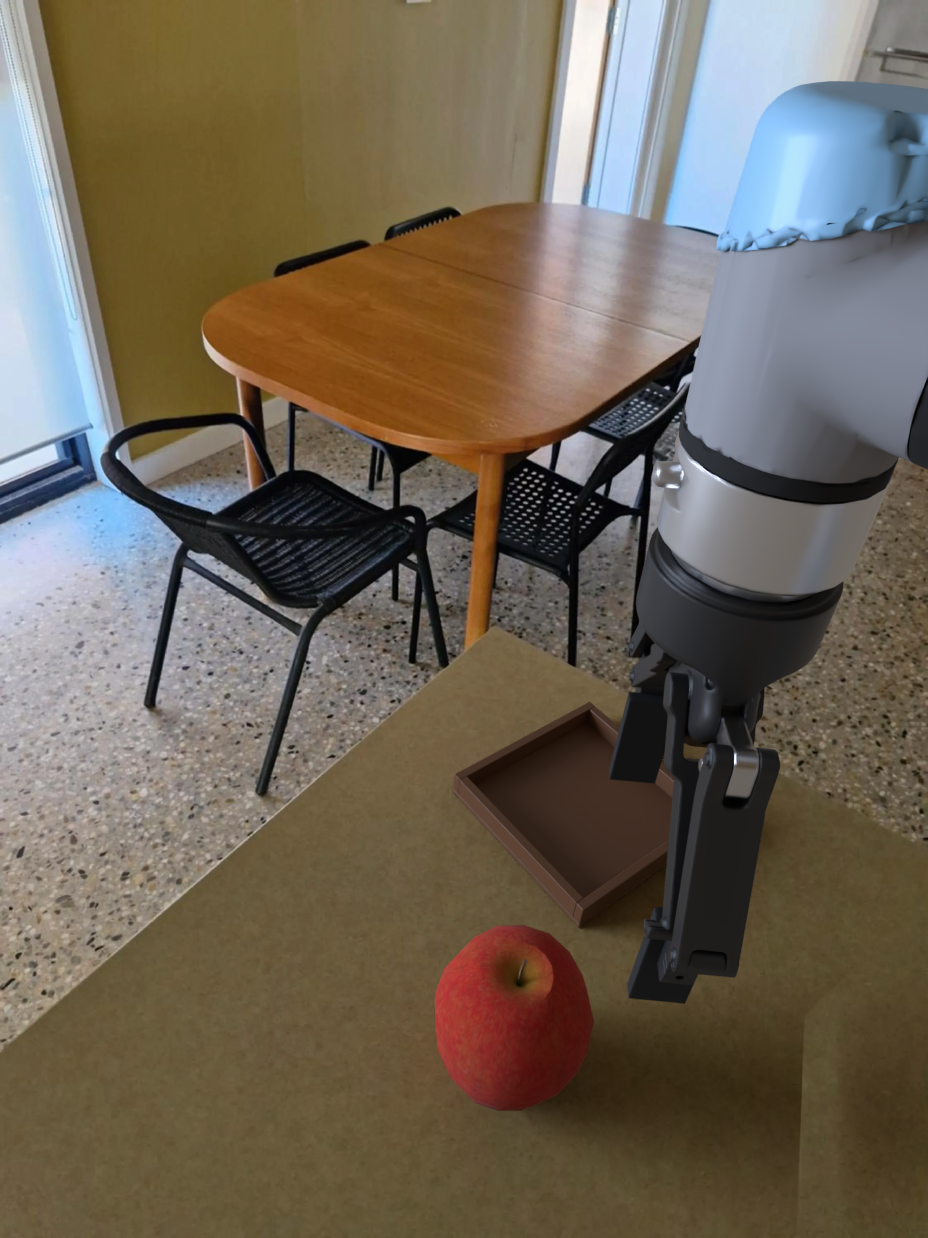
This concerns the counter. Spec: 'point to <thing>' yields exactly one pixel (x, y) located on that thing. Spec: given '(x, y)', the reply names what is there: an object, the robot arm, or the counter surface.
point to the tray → (572, 812)
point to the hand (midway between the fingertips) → (642, 873)
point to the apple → (512, 1018)
